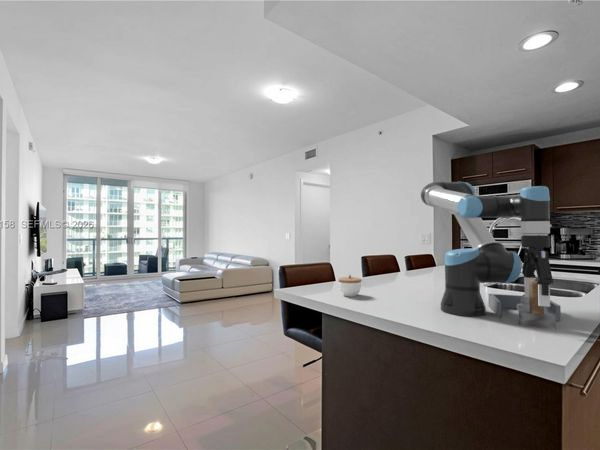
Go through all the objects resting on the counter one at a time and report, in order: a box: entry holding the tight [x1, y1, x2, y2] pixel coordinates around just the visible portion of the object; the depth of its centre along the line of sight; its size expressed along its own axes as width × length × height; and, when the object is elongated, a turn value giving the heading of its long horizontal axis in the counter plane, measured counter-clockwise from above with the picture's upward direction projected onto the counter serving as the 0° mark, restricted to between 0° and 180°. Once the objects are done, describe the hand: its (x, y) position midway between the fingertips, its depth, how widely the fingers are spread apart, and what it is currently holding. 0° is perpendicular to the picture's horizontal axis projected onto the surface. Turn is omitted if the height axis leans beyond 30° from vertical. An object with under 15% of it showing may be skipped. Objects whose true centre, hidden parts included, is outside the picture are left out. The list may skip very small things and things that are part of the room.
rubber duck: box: [517, 293, 530, 312], centre depth 115 cm, size 5×7×8 cm
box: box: [488, 293, 562, 322], centre depth 117 cm, size 18×15×5 cm
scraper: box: [518, 280, 557, 329], centre depth 101 cm, size 9×3×14 cm, turn 69°
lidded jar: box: [338, 274, 362, 298], centre depth 150 cm, size 11×11×9 cm
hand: (536, 301), depth 101 cm, fingers open, 13 cm apart
